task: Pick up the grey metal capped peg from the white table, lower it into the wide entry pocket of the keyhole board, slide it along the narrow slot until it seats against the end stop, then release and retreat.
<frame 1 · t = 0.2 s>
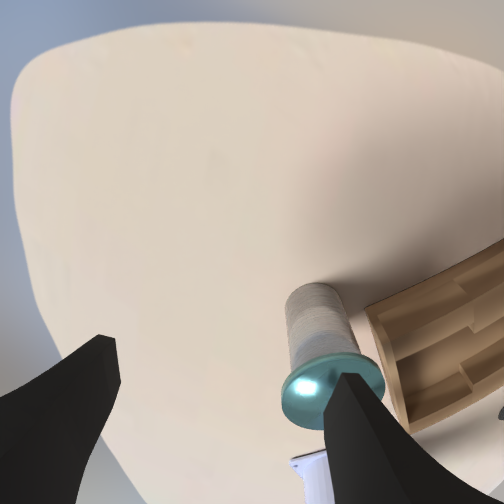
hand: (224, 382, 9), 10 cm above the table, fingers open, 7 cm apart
peg: (313, 308, 20), on the table
keyhole board: (467, 321, 20), on the table
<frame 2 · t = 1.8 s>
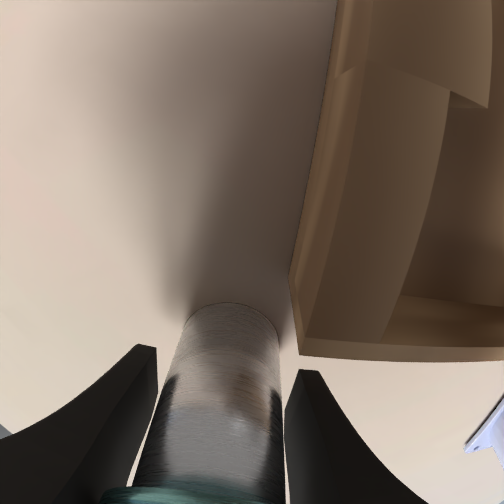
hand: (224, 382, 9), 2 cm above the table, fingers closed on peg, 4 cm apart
peg: (229, 343, 11), on the table, touching gripper
keyhole board: (483, 95, 8), on the table
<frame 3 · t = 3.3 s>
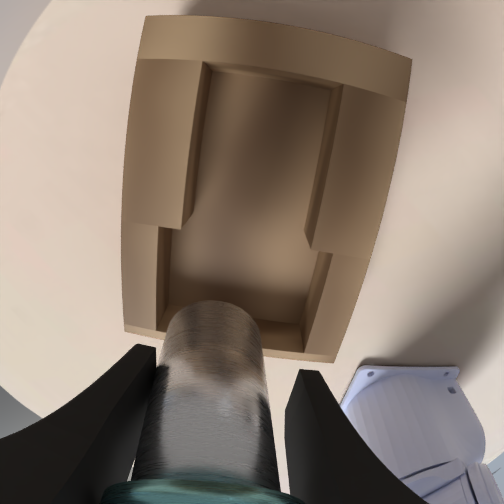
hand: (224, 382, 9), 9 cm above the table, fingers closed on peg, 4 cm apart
peg: (213, 340, 12), point 7 cm above the table, touching gripper
keyhole board: (253, 186, 16), on the table
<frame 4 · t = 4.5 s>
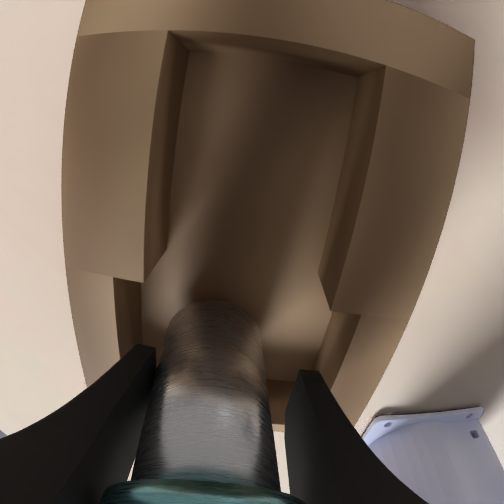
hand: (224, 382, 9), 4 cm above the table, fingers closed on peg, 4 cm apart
peg: (213, 340, 12), point 2 cm above the table, touching gripper
keyhole board: (249, 211, 12), on the table
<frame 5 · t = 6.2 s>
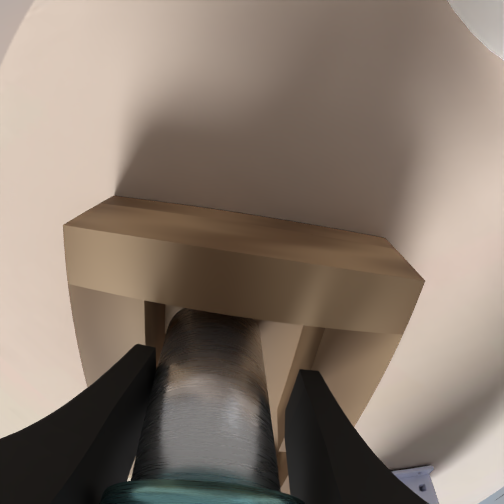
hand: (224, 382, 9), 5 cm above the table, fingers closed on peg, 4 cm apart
peg: (213, 340, 12), point 2 cm above the table, touching gripper
keyhole board: (226, 365, 15), on the table
when the fingers open (4 cm above the table, at t = 7.5 s): peg drops 1 cm, resting on keyhole board.
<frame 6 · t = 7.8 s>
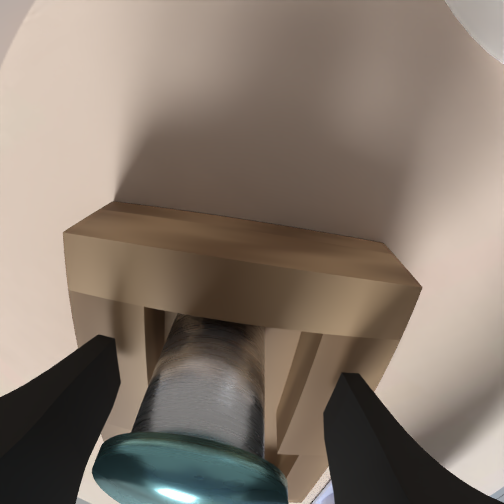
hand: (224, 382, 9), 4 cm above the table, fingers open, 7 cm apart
peg: (220, 325, 13), point 1 cm above the table, touching keyhole board
keyhole board: (225, 368, 15), on the table
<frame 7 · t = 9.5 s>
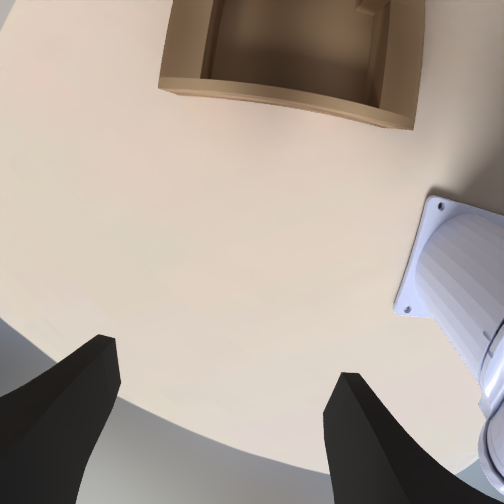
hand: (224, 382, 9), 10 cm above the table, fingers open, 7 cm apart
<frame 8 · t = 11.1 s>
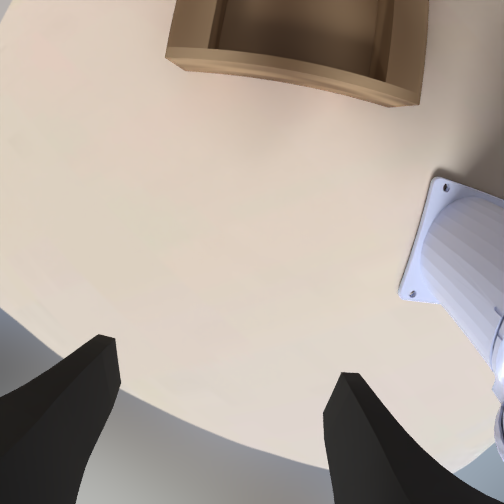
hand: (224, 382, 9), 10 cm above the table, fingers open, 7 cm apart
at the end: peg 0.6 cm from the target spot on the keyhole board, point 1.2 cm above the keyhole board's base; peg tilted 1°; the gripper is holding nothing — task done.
